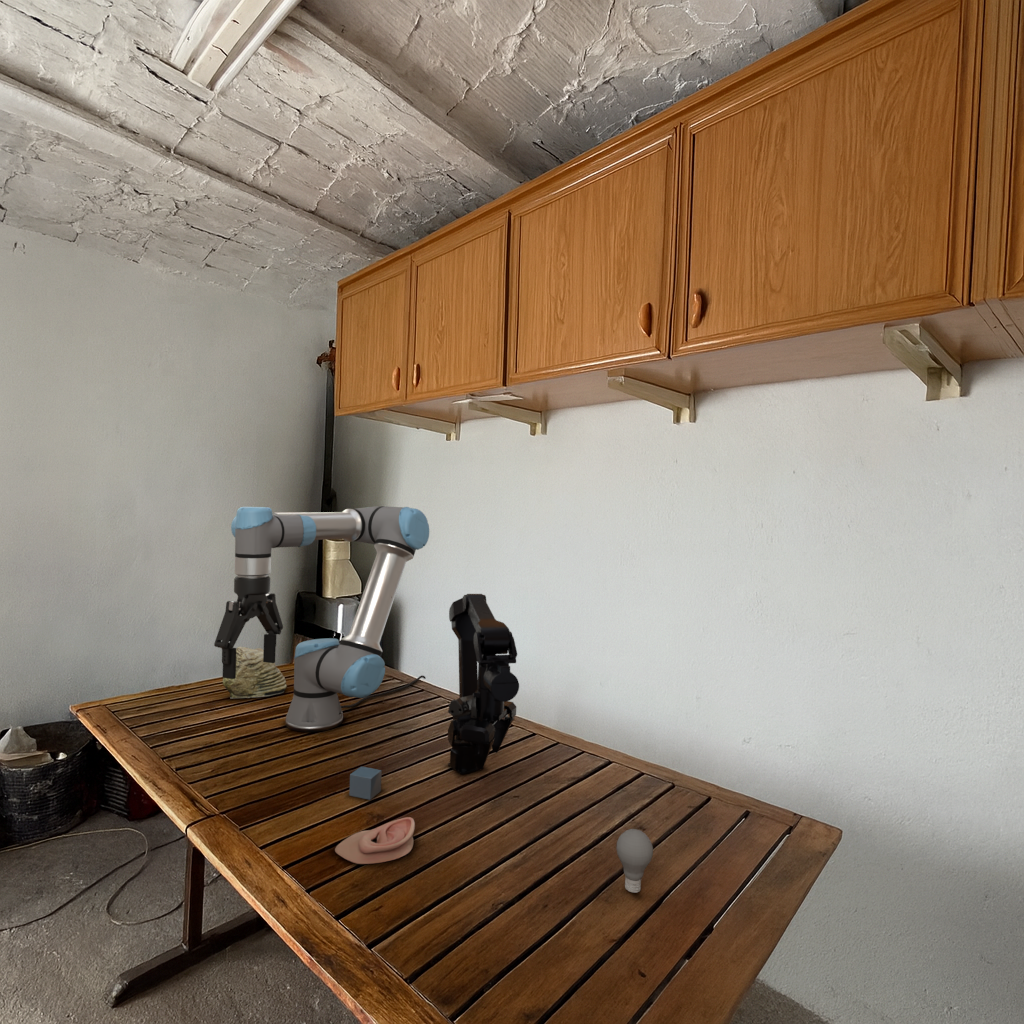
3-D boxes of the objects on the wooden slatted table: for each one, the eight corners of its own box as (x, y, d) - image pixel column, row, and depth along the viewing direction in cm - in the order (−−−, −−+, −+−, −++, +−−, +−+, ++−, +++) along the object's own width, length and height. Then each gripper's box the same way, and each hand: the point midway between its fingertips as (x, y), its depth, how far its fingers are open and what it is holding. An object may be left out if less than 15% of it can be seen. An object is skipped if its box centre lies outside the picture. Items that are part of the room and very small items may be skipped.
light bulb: (610, 879, 108) (613, 822, 108) (644, 879, 109) (647, 822, 109) (619, 902, 102) (622, 840, 102) (655, 901, 103) (658, 840, 103)
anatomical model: (327, 836, 111) (356, 806, 122) (326, 858, 111) (355, 826, 122) (398, 848, 108) (421, 815, 119) (397, 871, 108) (420, 836, 119)
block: (360, 786, 139) (361, 766, 139) (381, 791, 138) (381, 770, 137) (349, 795, 135) (349, 774, 135) (370, 800, 133) (371, 778, 133)
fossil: (218, 695, 195) (220, 647, 195) (278, 685, 208) (279, 640, 207) (228, 703, 189) (230, 653, 188) (289, 692, 201) (290, 645, 201)
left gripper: (273, 568, 155) (270, 654, 155) (197, 581, 131) (194, 683, 131) (299, 570, 153) (297, 658, 153) (227, 583, 129) (225, 687, 129)
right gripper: (471, 670, 143) (468, 739, 144) (437, 693, 126) (433, 771, 126) (518, 676, 140) (515, 746, 140) (489, 701, 122) (486, 781, 123)
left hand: (250, 669), depth 142 cm, fingers open, 13 cm apart
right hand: (487, 760), depth 132 cm, fingers open, 9 cm apart
